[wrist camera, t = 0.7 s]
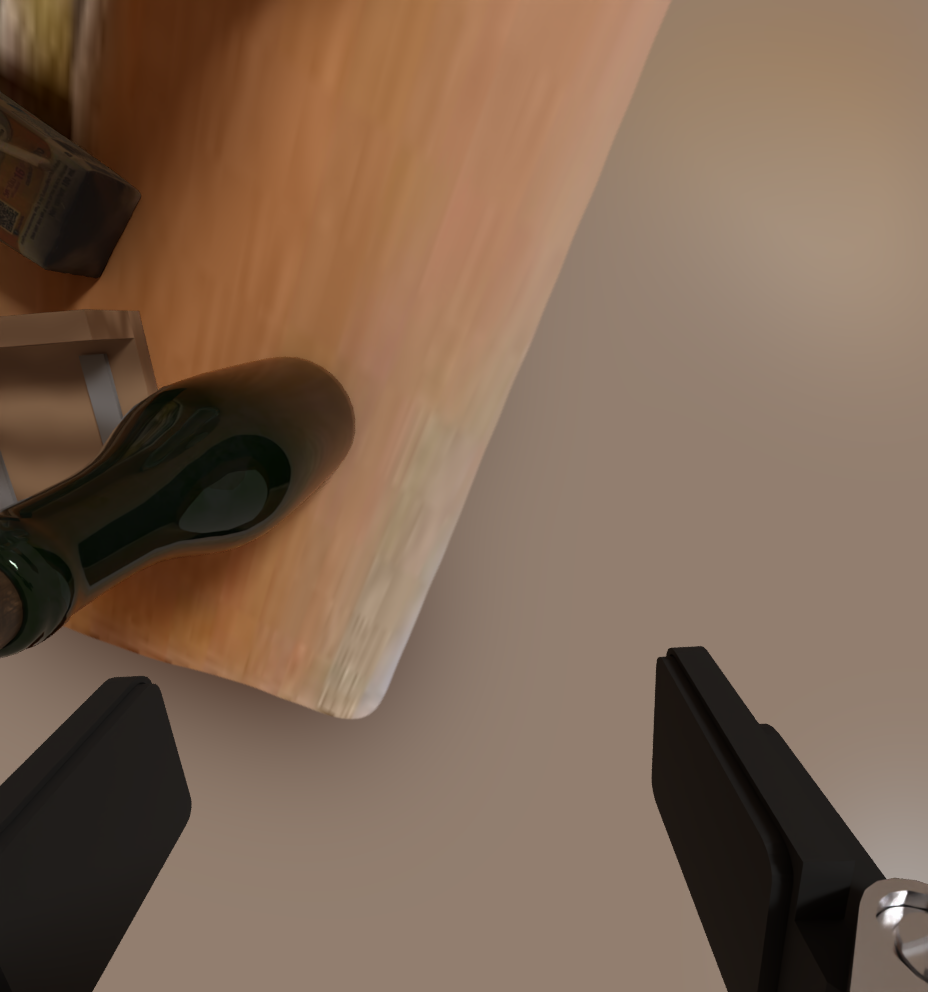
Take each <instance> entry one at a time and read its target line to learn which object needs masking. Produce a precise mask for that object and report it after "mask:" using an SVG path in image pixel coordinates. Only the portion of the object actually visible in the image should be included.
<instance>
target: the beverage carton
mask: <svg viewBox="0 0 928 992" xmlns="http://www.w3.org/2000/svg"><path fill="white" fill-rule="evenodd" d="M140 197H141V194H140V193H139V191H138V190H137V189H136V188H134V187H133V186H132V185H131V184H129V183H128V182H127V181H125V180H124V179H123V178H121V177H120V176H119V175H118V174H116V173H115V172H114V171H112V170H111V169H109V168H108V167H107V166H105V165H104V164H103V163H101V162H100V161H98V160H97V159H95V158H94V157H92V156H91V155H90V154H88V153H87V152H86V151H84V150H83V149H82V148H80V147H79V146H78V145H76V144H75V143H73V142H71V141H70V140H69V139H67V138H66V137H64V136H63V135H61V134H60V133H58V132H57V131H55V130H54V129H53V128H51V127H50V126H48V125H47V124H45V123H44V122H43V121H41V120H40V119H39V118H37V117H36V116H34V115H33V114H31V113H30V112H28V111H27V110H26V109H24V108H23V107H21V106H20V105H18V104H17V103H16V102H14V101H13V100H12V99H10V98H9V97H7V96H6V95H4V94H3V93H2V92H0V241H1V242H3V243H5V244H6V245H8V246H9V247H11V248H13V249H14V250H16V251H17V252H19V253H20V254H22V255H23V256H25V257H27V258H28V259H30V260H31V261H33V262H35V263H36V264H38V265H39V266H41V267H42V268H44V269H45V270H51V271H55V272H61V273H69V274H73V275H83V276H86V277H93V278H99V277H100V275H101V273H102V271H103V269H104V267H105V265H106V263H107V261H108V259H109V256H110V254H111V252H112V250H113V249H114V247H115V245H116V243H117V241H118V239H119V237H120V235H121V234H122V233H123V230H124V228H125V226H126V224H127V222H128V220H129V218H130V217H131V215H132V212H133V210H134V208H135V206H136V205H137V203H138V201H139V200H140Z"/></svg>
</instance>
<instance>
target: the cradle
mask: <svg viewBox="0 0 928 992" xmlns="http://www.w3.org/2000/svg"><path fill="white" fill-rule="evenodd" d="M157 390H158V389H157V385H156V380H155V376H154V372H153V368H152V364H151V360H150V355H149V351H148V347H147V343H146V339H145V334H144V330H143V326H142V322H141V318H140V314H139V311H119V310H87V309H83V310H71V311H59V312H47V313H35V314H23V315H11V316H0V509H2V508H4V507H6V506H9V505H11V504H13V503H16V502H18V501H20V500H23V499H25V498H27V497H29V496H31V495H34V494H36V493H38V492H40V491H42V490H44V489H46V488H48V487H50V486H52V485H54V484H56V483H58V482H60V481H62V480H64V479H66V478H68V477H70V476H71V475H73V474H74V473H76V472H77V471H79V470H81V469H82V468H83V467H85V466H86V465H87V464H88V463H89V462H90V461H91V460H92V459H93V458H94V457H95V455H96V454H97V453H98V451H99V450H100V449H101V448H102V446H103V445H104V443H105V442H106V440H107V439H108V437H109V436H110V434H111V433H112V431H113V430H114V428H115V427H116V426H117V424H118V423H119V422H120V420H121V419H122V418H123V417H124V416H125V415H126V414H127V412H128V411H129V410H130V409H131V408H132V407H133V406H135V405H136V404H138V403H139V402H141V401H142V400H143V399H145V398H146V397H148V396H149V395H151V394H152V393H154V392H156V391H157Z"/></svg>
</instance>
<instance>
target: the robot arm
mask: <svg viewBox="0 0 928 992" xmlns="http://www.w3.org/2000/svg"><path fill="white" fill-rule="evenodd" d="M655 686H656V687H655V709H654V734H653V758H652V788H653V793H654V798H655V801H656V804H657V807H658V809H659V812H660V814H661V817H662V820H663V823H664V825H665V828H666V830H667V833H668V835H669V838H670V841H671V844H672V846H673V849H674V851H675V854H676V856H677V859H678V862H679V864H680V867H681V870H682V873H683V875H684V878H685V880H686V883H687V886H688V888H689V891H690V894H691V896H692V899H693V901H694V904H695V907H696V909H697V912H698V915H699V917H700V920H701V922H702V925H703V928H704V930H705V933H706V936H707V938H708V941H709V944H710V946H711V949H712V951H713V954H714V957H715V959H716V962H717V965H718V967H719V970H720V972H721V975H722V978H723V980H724V983H725V985H726V988H727V991H728V992H928V884H925V883H923V882H920V881H917V880H909V879H899V878H891V879H886V878H885V877H884V875H883V874H882V872H881V871H880V870H879V868H878V867H877V866H876V864H875V863H874V862H873V860H872V859H871V857H870V856H869V855H868V853H867V852H866V851H865V849H864V848H863V847H862V845H861V844H860V843H859V841H858V840H857V839H856V837H855V836H854V834H853V833H852V832H851V830H850V829H849V828H848V826H847V825H846V824H845V822H844V821H843V820H842V818H841V817H840V815H839V814H838V813H837V812H836V810H835V809H834V808H833V806H832V805H831V803H830V802H829V801H828V799H827V798H826V796H825V795H824V794H823V792H822V791H821V790H820V788H819V787H818V786H817V784H816V783H815V782H814V780H813V779H812V778H811V776H810V775H809V774H808V772H807V771H806V770H805V768H804V767H803V765H802V764H801V763H800V761H799V760H798V759H797V757H796V756H795V755H794V753H793V752H792V751H791V749H790V748H789V746H788V745H787V744H786V742H785V741H784V740H783V738H782V737H781V736H780V734H779V733H778V732H777V731H776V730H775V729H774V728H773V727H772V726H770V725H768V724H759V723H758V722H757V721H756V720H755V718H754V716H753V715H752V714H751V712H750V711H749V709H748V708H747V706H746V705H745V704H744V702H743V701H742V699H741V698H740V697H739V695H738V694H737V692H736V691H735V689H734V688H733V687H732V685H731V684H730V682H729V681H728V680H727V678H726V677H725V675H724V674H723V672H722V671H721V670H720V668H719V667H718V665H717V664H716V663H715V661H714V660H713V658H712V657H711V655H710V654H709V653H708V651H707V650H706V649H705V648H704V647H702V646H697V647H678V648H669V649H668V651H667V656H666V657H659V658H658V659H657V664H656V685H655ZM190 812H191V797H190V793H189V790H188V786H187V783H186V779H185V776H184V772H183V769H182V765H181V762H180V758H179V754H178V751H177V747H176V744H175V740H174V737H173V733H172V730H171V726H170V722H169V719H168V715H167V712H166V708H165V705H164V701H163V698H162V694H161V691H160V689H159V687H158V686H157V685H156V684H152V683H151V680H150V679H149V678H148V677H145V676H133V677H114V678H111V679H108V680H107V681H106V682H104V683H103V684H102V685H101V686H100V687H99V688H98V689H97V690H96V691H95V692H94V693H93V694H92V695H91V696H90V697H89V698H88V699H87V700H86V701H85V702H84V703H83V704H82V705H81V706H80V707H79V708H78V709H77V710H76V711H75V712H74V713H73V714H72V715H71V716H70V717H69V718H68V719H67V720H66V721H65V722H64V723H63V724H62V725H61V726H60V727H59V728H58V729H57V730H56V731H55V732H54V733H53V734H52V735H51V736H50V737H49V738H48V739H47V740H46V741H45V742H44V743H43V744H42V745H41V746H40V747H39V748H38V749H37V750H36V751H35V752H34V753H33V754H32V755H31V756H30V757H29V758H28V759H27V760H26V761H25V762H24V763H23V764H22V765H21V766H20V767H19V768H18V769H17V770H16V771H15V772H14V773H13V774H12V775H11V776H10V777H9V778H8V779H7V780H6V781H5V782H4V783H3V784H2V785H1V786H0V992H92V991H93V990H94V988H95V986H96V984H97V982H98V981H99V979H100V977H101V975H102V974H103V972H104V970H105V968H106V966H107V965H108V963H109V961H110V959H111V958H112V956H113V954H114V952H115V950H116V949H117V947H118V945H119V943H120V941H121V939H122V938H123V936H124V934H125V933H126V931H127V929H128V927H129V925H130V924H131V922H132V920H133V918H134V917H135V915H136V913H137V911H138V910H139V908H140V906H141V904H142V902H143V901H144V899H145V897H146V895H147V893H148V892H149V890H150V888H151V886H152V885H153V883H154V881H155V879H156V878H157V876H158V874H159V872H160V870H161V869H162V867H163V865H164V863H165V862H166V860H167V858H168V856H169V854H170V853H171V851H172V849H173V847H174V845H175V844H176V842H177V840H178V838H179V837H180V835H181V833H182V831H183V829H184V828H185V826H186V824H187V822H188V820H189V817H190Z"/></svg>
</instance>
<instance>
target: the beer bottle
mask: <svg viewBox="0 0 928 992" xmlns="http://www.w3.org/2000/svg"><path fill="white" fill-rule="evenodd" d="M354 434H355V416H354V410H353V406H352V404H351V401H350V399H349V396H348V394H347V393H346V391H345V389H344V388H343V386H342V385H341V383H340V382H339V381H338V380H337V379H336V378H335V377H334V376H333V375H332V374H331V373H330V372H328V371H327V370H326V369H324V368H323V367H321V366H319V365H317V364H315V363H313V362H311V361H308V360H305V359H301V358H298V357H274V358H266V359H261V360H257V361H252V362H247V363H243V364H239V365H235V366H230V367H226V368H222V369H218V370H214V371H210V372H206V373H202V374H199V375H196V376H193V377H190V378H187V379H184V380H181V381H178V382H176V383H173V384H170V385H167V386H164V387H162V388H160V389H159V390H157V391H156V392H154V393H152V394H151V395H149V396H148V397H146V398H145V399H143V400H142V401H141V402H139V403H138V404H136V405H135V406H133V407H132V408H131V409H130V410H129V411H128V412H127V414H126V415H125V416H124V417H123V418H122V419H121V420H120V422H119V423H118V424H117V426H116V427H115V428H114V430H113V431H112V433H111V434H110V436H109V437H108V439H107V440H106V442H105V443H104V445H103V446H102V448H101V449H100V450H99V451H98V453H97V454H96V455H95V457H94V458H93V459H92V460H91V461H90V462H89V463H88V464H87V465H86V466H85V467H83V468H82V469H81V470H79V471H77V472H76V473H74V474H73V475H71V476H70V477H68V478H66V479H64V480H62V481H60V482H58V483H56V484H54V485H52V486H50V487H48V488H46V489H44V490H42V491H40V492H38V493H36V494H34V495H31V496H29V497H27V498H25V499H23V500H20V501H18V502H16V503H13V504H11V505H9V506H6V507H4V508H2V509H0V658H3V657H7V656H10V655H14V654H17V653H19V652H21V651H23V650H25V649H28V648H31V647H33V646H36V645H38V644H39V643H41V642H43V641H45V640H46V639H47V638H49V637H50V636H52V635H53V634H54V633H55V632H57V631H58V630H59V629H60V628H61V627H62V626H63V625H64V624H65V623H67V622H68V621H69V619H70V617H71V616H72V615H73V614H75V613H76V612H77V611H79V610H80V609H82V608H83V607H85V606H86V605H88V604H89V603H90V602H92V601H93V600H95V599H96V598H98V597H99V596H101V595H102V594H103V593H105V592H106V591H108V590H109V589H111V588H113V587H114V586H116V585H117V584H119V583H121V582H122V581H124V580H126V579H127V578H129V577H130V576H132V575H134V574H135V573H137V572H139V571H141V570H143V569H145V568H147V567H149V566H151V565H153V564H155V563H158V562H161V561H165V560H168V559H174V558H181V557H189V556H198V555H208V554H215V553H222V552H226V551H229V550H232V549H235V548H238V547H240V546H243V545H245V544H247V543H249V542H252V541H254V540H256V539H257V538H259V537H261V536H263V535H265V534H266V533H268V532H269V531H270V530H271V529H273V528H274V527H275V526H276V525H278V524H279V523H280V522H281V521H283V520H284V519H285V518H286V517H287V516H288V515H290V514H291V513H292V512H293V511H294V510H295V509H296V508H297V507H298V506H299V505H301V504H302V503H303V502H304V501H305V500H306V499H307V498H308V497H309V496H310V495H311V494H312V493H313V492H314V491H315V490H316V489H317V488H318V487H319V486H320V485H321V484H322V483H323V482H324V481H325V480H326V479H327V478H328V477H329V476H330V475H331V474H332V473H333V472H334V471H335V470H336V469H337V468H338V467H339V465H340V464H341V463H342V461H343V460H344V459H345V457H346V456H347V454H348V452H349V450H350V448H351V446H352V443H353V439H354Z"/></svg>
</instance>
